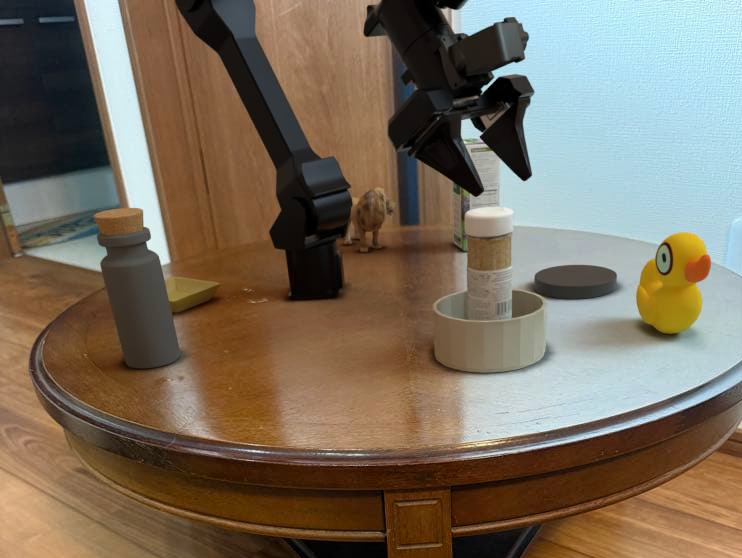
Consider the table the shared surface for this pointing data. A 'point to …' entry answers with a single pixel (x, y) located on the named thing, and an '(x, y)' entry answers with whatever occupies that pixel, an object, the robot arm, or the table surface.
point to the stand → (575, 281)
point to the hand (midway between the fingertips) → (505, 186)
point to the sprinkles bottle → (489, 263)
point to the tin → (490, 334)
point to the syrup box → (490, 178)
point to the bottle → (136, 290)
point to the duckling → (673, 283)
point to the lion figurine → (369, 216)
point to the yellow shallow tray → (189, 292)
